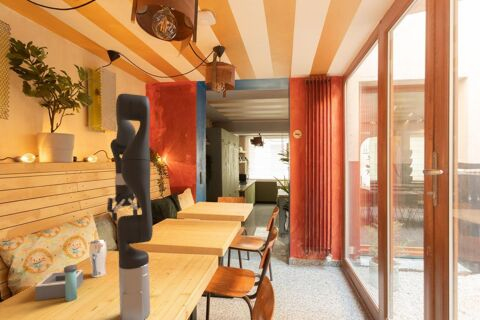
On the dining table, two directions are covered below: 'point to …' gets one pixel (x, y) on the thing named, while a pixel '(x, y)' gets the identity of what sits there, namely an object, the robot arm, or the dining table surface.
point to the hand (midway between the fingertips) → (125, 219)
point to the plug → (70, 282)
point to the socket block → (55, 285)
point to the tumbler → (98, 257)
